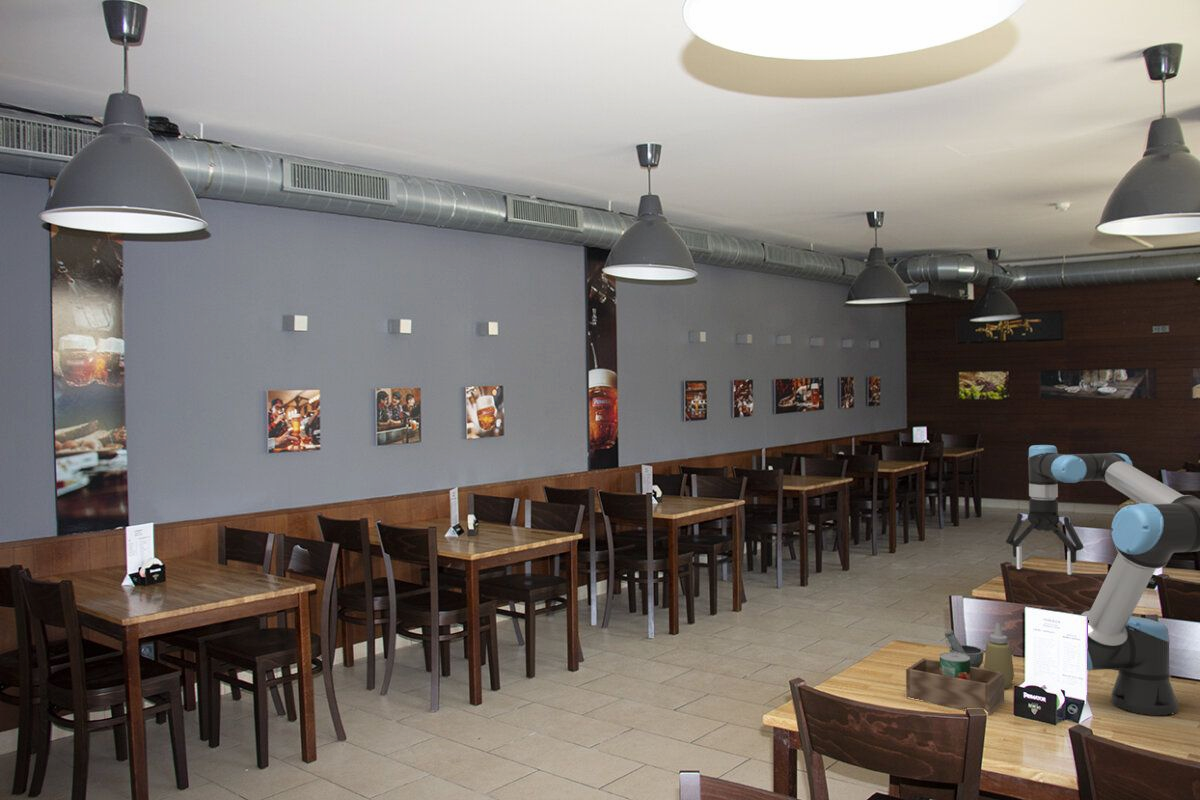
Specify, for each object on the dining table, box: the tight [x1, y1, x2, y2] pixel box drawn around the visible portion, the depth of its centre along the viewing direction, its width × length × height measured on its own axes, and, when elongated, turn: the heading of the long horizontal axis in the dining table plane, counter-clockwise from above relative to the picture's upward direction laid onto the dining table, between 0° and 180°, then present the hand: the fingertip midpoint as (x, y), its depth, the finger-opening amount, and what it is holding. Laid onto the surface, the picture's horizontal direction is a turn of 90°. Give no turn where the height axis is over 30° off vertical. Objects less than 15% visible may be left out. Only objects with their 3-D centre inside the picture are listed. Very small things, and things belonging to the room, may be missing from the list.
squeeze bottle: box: [983, 622, 1015, 690], centre depth 257 cm, size 8×8×18 cm
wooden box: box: [905, 657, 1005, 717], centre depth 246 cm, size 22×13×8 cm, turn 50°
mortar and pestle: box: [944, 629, 984, 668], centre depth 270 cm, size 11×9×12 cm
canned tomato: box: [939, 651, 970, 680], centre depth 246 cm, size 8×8×11 cm
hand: (1044, 571), depth 261 cm, fingers open, 13 cm apart
